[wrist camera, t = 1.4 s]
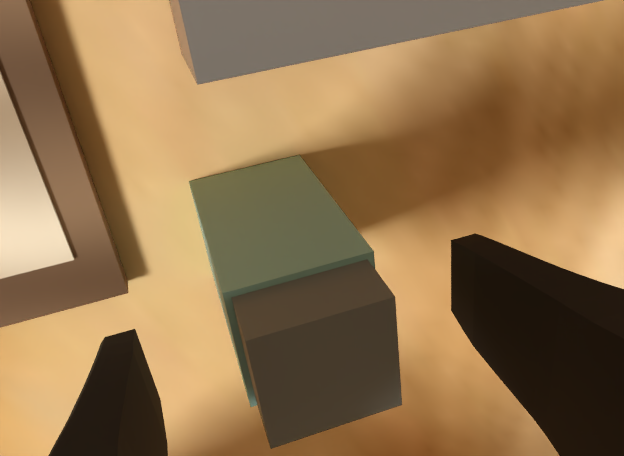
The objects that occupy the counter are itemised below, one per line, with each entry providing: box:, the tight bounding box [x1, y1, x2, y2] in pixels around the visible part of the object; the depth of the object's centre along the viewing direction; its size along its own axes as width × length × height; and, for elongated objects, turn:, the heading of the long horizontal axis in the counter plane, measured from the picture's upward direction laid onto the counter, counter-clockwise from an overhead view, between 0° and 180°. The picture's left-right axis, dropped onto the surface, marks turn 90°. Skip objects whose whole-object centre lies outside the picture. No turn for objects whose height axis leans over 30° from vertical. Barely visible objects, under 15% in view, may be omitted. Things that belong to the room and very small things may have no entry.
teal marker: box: [189, 155, 402, 449], centre depth 15 cm, size 3×3×7 cm
